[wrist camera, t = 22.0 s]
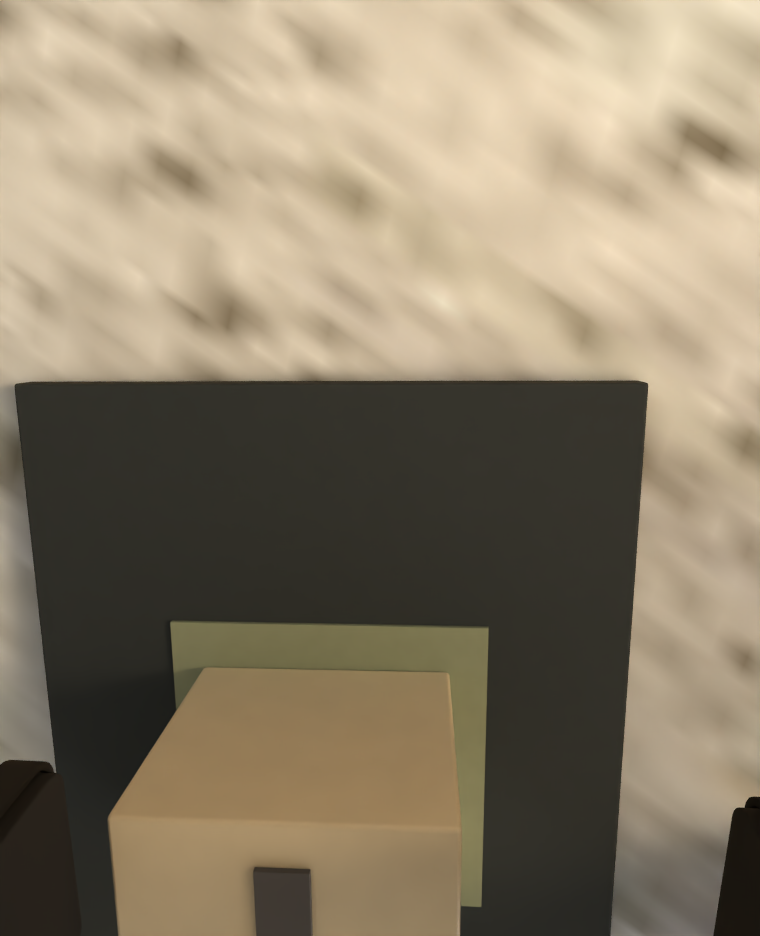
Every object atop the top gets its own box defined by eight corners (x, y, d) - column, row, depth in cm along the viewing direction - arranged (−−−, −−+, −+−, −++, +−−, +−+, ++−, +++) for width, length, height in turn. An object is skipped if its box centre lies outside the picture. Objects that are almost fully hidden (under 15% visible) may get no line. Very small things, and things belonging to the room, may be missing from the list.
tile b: (203, 665, 14) (101, 822, 10) (449, 670, 14) (463, 835, 9) (216, 877, 15) (130, 1110, 11) (446, 886, 15) (457, 1130, 10)
